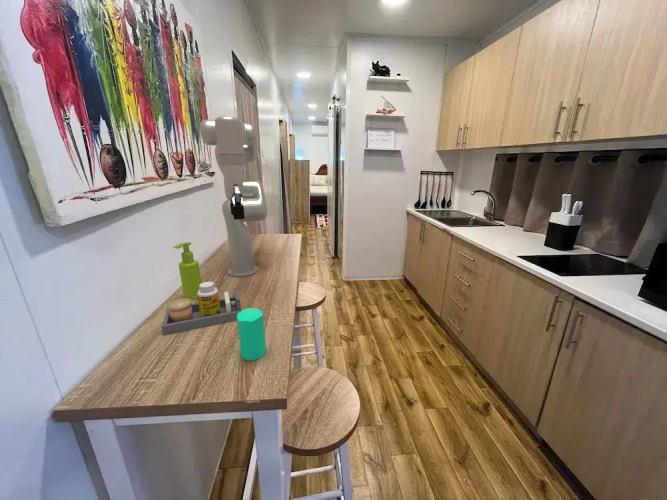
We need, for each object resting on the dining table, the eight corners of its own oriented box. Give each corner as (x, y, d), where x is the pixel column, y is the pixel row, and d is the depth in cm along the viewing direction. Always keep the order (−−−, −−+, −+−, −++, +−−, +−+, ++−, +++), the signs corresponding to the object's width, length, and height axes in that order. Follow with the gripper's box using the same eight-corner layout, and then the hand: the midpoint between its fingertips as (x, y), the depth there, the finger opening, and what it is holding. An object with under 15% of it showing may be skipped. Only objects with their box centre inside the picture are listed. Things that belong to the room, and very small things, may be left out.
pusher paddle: (225, 306, 88) (224, 292, 86) (229, 305, 88) (228, 291, 87) (227, 319, 80) (225, 303, 79) (231, 318, 81) (230, 302, 79)
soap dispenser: (178, 302, 93) (167, 245, 87) (194, 293, 99) (185, 240, 94) (191, 304, 91) (181, 246, 86) (207, 296, 97) (199, 241, 92)
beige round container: (172, 318, 81) (168, 300, 79) (194, 314, 83) (191, 296, 81) (170, 329, 76) (166, 309, 74) (193, 324, 78) (190, 305, 76)
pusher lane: (169, 318, 83) (165, 297, 81) (238, 305, 91) (236, 286, 89) (164, 338, 73) (159, 314, 71) (242, 322, 81) (240, 300, 79)
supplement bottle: (202, 322, 79) (197, 289, 76) (199, 314, 83) (194, 283, 80) (222, 317, 82) (218, 285, 79) (218, 309, 86) (214, 279, 83)
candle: (239, 348, 69) (234, 305, 66) (263, 342, 72) (260, 300, 68) (242, 363, 64) (237, 317, 61) (268, 356, 66) (264, 311, 63)
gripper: (218, 161, 91) (223, 213, 96) (220, 160, 76) (227, 222, 80) (241, 162, 94) (246, 212, 98) (248, 160, 78) (253, 220, 83)
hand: (237, 216), depth 89 cm, fingers open, 9 cm apart
